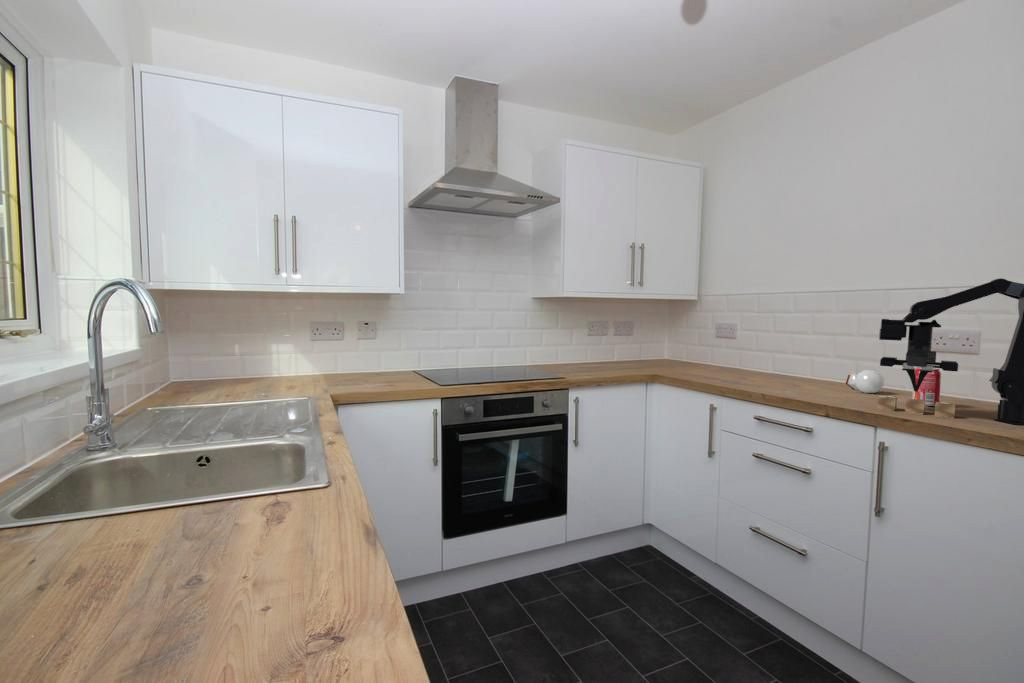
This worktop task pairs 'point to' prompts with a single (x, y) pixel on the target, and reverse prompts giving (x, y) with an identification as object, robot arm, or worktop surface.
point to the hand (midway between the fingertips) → (915, 391)
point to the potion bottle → (866, 381)
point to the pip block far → (887, 402)
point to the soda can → (928, 387)
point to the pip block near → (945, 409)
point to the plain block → (915, 405)
